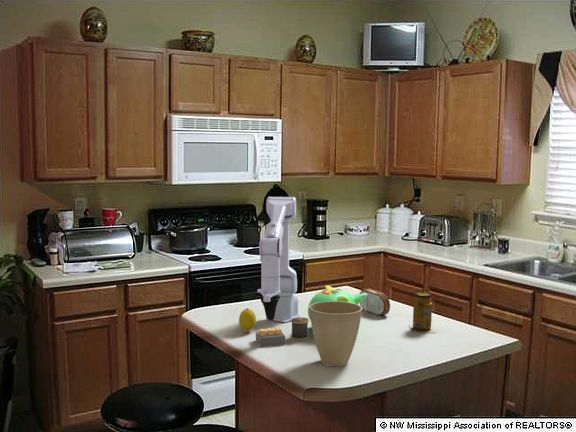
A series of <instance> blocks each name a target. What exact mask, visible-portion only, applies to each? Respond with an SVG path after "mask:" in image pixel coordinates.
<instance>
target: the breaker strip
mask: <svg viewBox="0 0 576 432" xmlns="http://www.w3.org/2000/svg"><path fill="white" fill-rule="evenodd" d="M255 342H256V344H257V345H258V346H259V347H260V348H261V347H270V346H271V345H273V346H282V345H283V346H285V345H286V335H285V334H284V332H282V329H281V327H274V329H273V328H272V327H270V328H268V327H267V328H266V329H265V328H260V329H258V331H256V332H255ZM271 347H272V346H271Z"/></svg>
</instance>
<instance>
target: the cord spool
mask: <svg viewBox="0 0 576 432" xmlns="http://www.w3.org/2000/svg"><path fill="white" fill-rule="evenodd" d="M309 322H310V319H309V318H307V317H303V316H300V317H296V318H292V319H291V321H290V323H291V334H290V339H291V340H292V341H297V342H298V341H299V342H300V341H303V342H304V341H307V340H308V339H309V335H308V325H309Z"/></svg>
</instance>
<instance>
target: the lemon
mask: <svg viewBox="0 0 576 432" xmlns="http://www.w3.org/2000/svg"><path fill="white" fill-rule="evenodd" d="M238 323H239V326H240V328H241V329H242V330H244V331H245V332H246V333H249V332H250V331H252V330H253V329H254V328H255V327H256V323H257V317H256V313H255V312H254V311H253V310H252V309H249V308H248V307H247V308H246V309H244V310H241V312H240V314H239V317H238Z"/></svg>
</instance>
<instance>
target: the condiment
mask: <svg viewBox="0 0 576 432" xmlns="http://www.w3.org/2000/svg"><path fill="white" fill-rule="evenodd" d="M412 309H413V310H412V313H413V314H412V324H410V325H408V327H409V328H410V329H411V330H412V331H413V333H417V334H431V333H432V334H436V333H437V332H436V331H435V330H434V329H433V328H432V321H433V320H432V319H433V318H432V317H433V316H432V313H433V312H432V310H433V303H432V295H431V294H430V293H428V292H417V293H415V294H414V301H413V308H412Z"/></svg>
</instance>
